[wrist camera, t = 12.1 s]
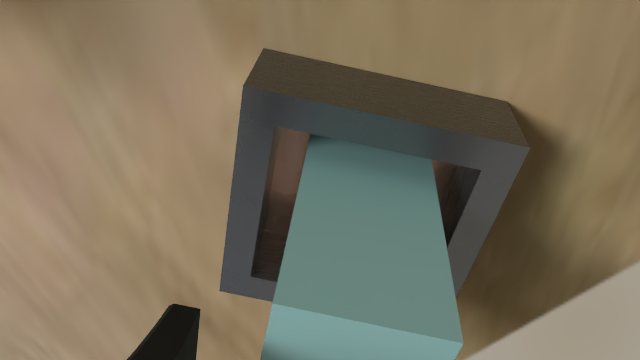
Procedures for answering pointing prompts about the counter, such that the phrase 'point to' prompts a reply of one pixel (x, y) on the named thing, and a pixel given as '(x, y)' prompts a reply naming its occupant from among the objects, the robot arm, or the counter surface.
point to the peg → (364, 262)
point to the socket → (366, 129)
